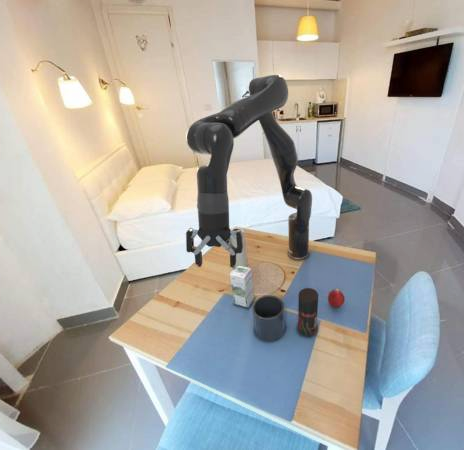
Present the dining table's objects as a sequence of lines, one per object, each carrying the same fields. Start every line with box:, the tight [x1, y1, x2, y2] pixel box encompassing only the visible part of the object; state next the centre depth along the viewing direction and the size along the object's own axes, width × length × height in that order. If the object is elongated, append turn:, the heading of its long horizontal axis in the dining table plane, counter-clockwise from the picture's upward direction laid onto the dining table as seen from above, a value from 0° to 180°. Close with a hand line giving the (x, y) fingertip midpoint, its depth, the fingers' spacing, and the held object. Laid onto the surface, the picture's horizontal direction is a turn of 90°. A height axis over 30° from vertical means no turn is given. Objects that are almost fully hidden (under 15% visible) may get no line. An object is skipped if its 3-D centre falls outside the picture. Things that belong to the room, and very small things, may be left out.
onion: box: [327, 288, 346, 308], centre depth 88 cm, size 6×6×8 cm
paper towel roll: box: [229, 226, 249, 271], centre depth 102 cm, size 7×6×21 cm
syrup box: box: [229, 265, 255, 308], centre depth 90 cm, size 6×6×14 cm
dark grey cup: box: [251, 294, 286, 342], centre depth 80 cm, size 10×10×10 cm
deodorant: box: [297, 287, 319, 337], centre depth 79 cm, size 6×6×15 cm
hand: (216, 265), depth 68 cm, fingers open, 8 cm apart
